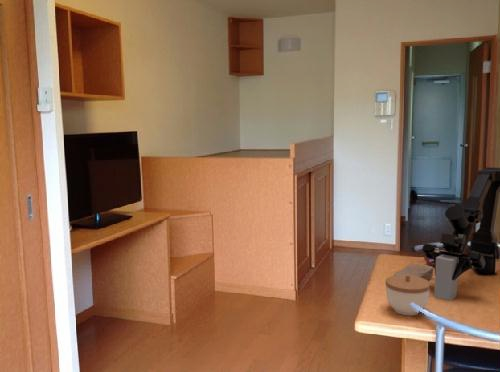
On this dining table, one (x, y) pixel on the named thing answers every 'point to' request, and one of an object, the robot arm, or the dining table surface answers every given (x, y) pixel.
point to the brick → (417, 271)
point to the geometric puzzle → (429, 260)
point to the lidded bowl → (407, 293)
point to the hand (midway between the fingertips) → (444, 277)
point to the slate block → (445, 277)
